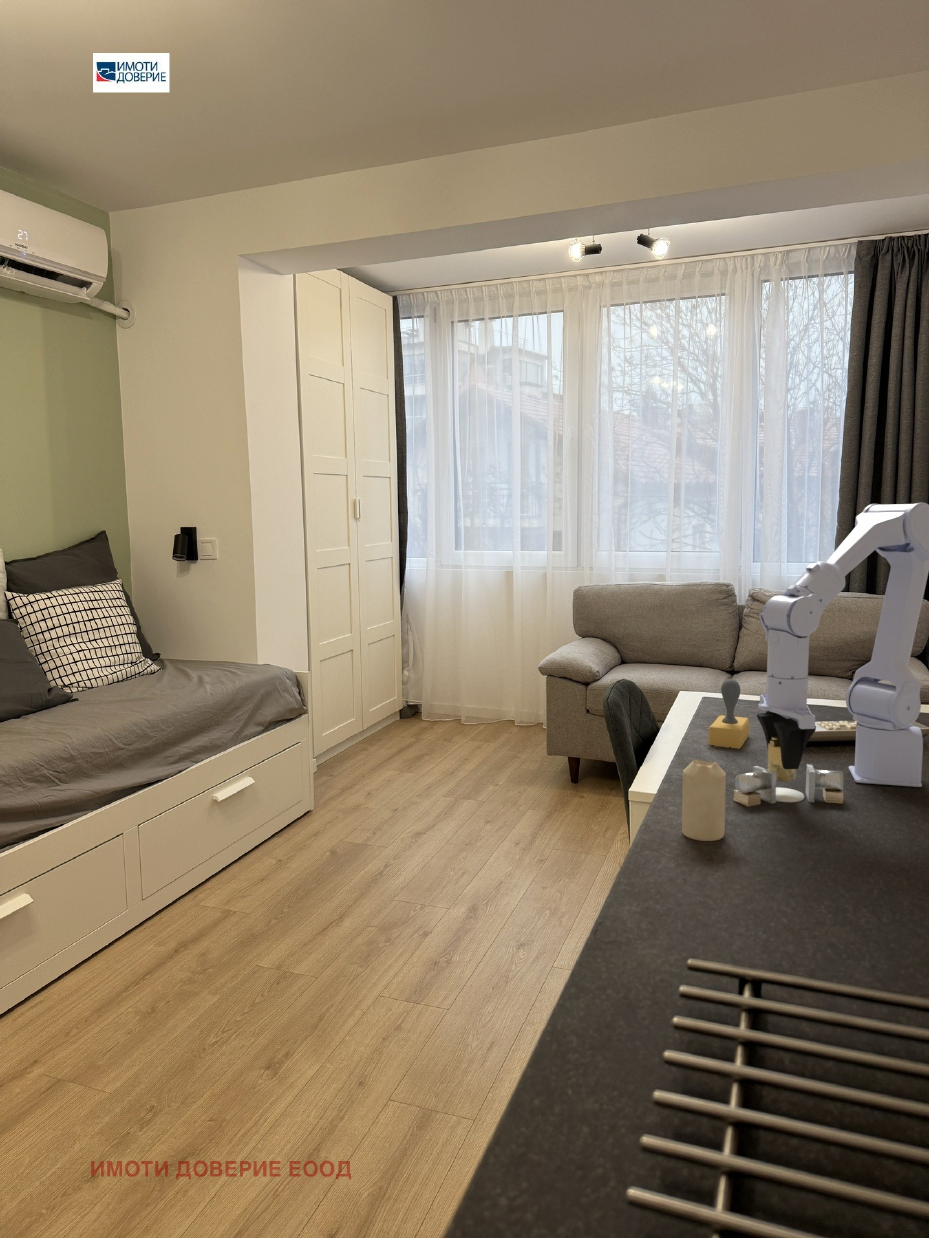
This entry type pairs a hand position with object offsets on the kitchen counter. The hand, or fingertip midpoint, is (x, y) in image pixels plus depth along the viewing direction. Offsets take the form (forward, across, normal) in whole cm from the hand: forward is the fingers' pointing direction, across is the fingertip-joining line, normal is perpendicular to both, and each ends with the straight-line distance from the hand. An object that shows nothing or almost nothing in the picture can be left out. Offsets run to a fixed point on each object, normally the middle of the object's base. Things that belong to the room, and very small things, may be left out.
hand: (783, 763), depth 126 cm
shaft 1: (+5, +2, -5) cm, 8 cm away
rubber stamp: (+5, -32, +4) cm, 32 cm away
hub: (+2, 0, 0) cm, 2 cm away
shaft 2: (+5, +2, +5) cm, 8 cm away
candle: (+5, +14, -17) cm, 23 cm away
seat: (+5, 0, 0) cm, 5 cm away
